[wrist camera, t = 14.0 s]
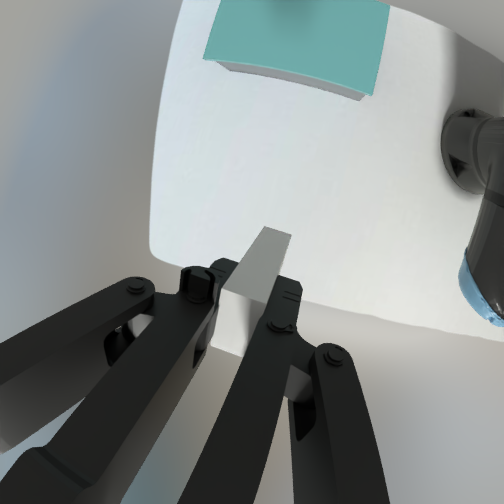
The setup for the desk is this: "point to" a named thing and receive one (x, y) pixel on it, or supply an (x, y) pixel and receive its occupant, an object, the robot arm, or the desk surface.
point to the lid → (303, 38)
